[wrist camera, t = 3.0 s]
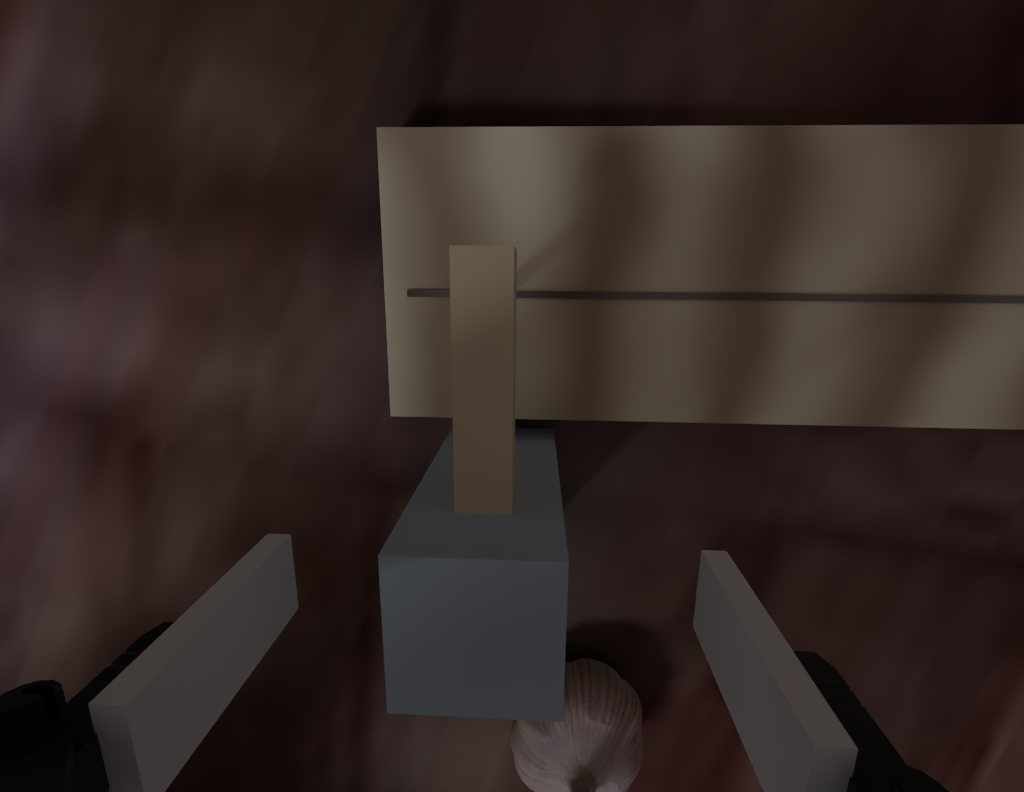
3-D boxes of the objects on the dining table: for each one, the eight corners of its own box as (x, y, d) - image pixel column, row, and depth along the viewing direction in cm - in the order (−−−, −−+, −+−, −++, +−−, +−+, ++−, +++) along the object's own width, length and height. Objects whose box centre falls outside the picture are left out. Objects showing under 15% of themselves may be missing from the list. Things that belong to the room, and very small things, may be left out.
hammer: (454, 518, 26) (387, 713, 14) (449, 259, 23) (359, 236, 11) (550, 521, 26) (562, 722, 14) (558, 259, 23) (581, 238, 11)
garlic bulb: (543, 769, 29) (546, 945, 22) (482, 674, 28) (462, 825, 20) (661, 722, 28) (708, 891, 20) (603, 622, 27) (631, 761, 19)
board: (402, 405, 25) (390, 416, 23) (390, 141, 22) (375, 126, 20) (1036, 418, 23) (1084, 431, 21) (1108, 138, 21) (1171, 122, 19)
